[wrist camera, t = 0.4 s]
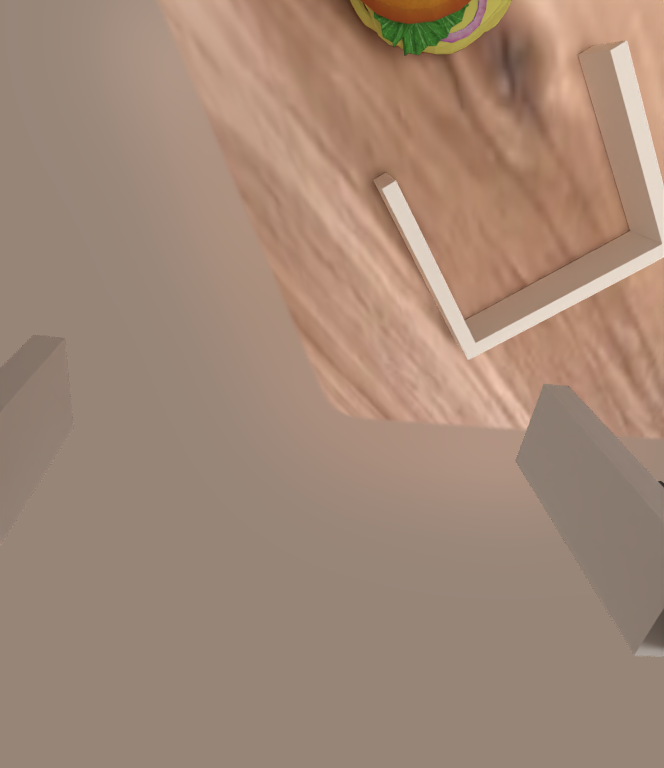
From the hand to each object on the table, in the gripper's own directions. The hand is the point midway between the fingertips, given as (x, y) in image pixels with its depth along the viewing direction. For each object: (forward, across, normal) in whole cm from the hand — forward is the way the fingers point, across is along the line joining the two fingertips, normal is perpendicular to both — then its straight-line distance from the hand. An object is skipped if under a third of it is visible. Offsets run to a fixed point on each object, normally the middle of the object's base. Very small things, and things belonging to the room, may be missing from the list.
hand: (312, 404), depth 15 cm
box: (+26, +15, +3) cm, 31 cm away
